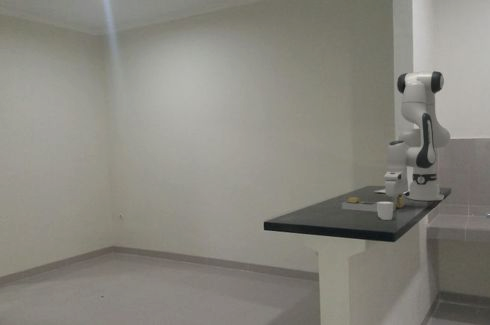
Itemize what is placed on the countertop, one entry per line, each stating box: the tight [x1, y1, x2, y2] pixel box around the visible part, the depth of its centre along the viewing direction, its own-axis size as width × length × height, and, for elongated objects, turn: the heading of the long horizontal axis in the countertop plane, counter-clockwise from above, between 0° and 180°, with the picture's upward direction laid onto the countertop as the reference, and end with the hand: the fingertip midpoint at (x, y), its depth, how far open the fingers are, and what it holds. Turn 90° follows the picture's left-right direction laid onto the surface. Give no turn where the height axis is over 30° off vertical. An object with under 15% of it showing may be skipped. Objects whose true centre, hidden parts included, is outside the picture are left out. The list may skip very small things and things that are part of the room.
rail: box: [341, 200, 397, 213], centre depth 193 cm, size 8×23×4 cm, turn 50°
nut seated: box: [347, 196, 360, 204], centre depth 197 cm, size 4×4×5 cm
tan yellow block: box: [391, 195, 404, 209], centre depth 195 cm, size 4×4×5 cm
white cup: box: [376, 201, 394, 221], centre depth 173 cm, size 7×7×7 cm
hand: (397, 203), depth 195 cm, fingers closed on tan yellow block, 4 cm apart
